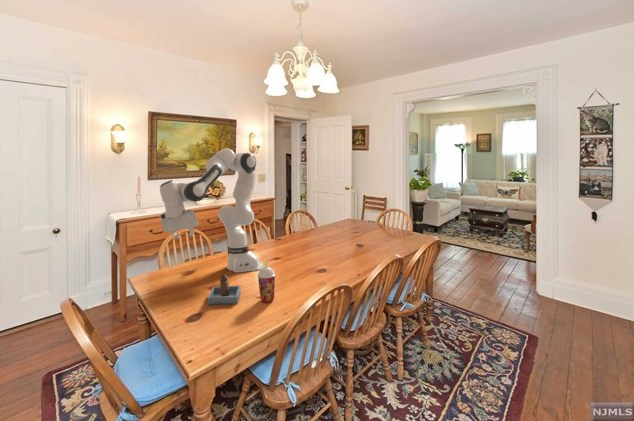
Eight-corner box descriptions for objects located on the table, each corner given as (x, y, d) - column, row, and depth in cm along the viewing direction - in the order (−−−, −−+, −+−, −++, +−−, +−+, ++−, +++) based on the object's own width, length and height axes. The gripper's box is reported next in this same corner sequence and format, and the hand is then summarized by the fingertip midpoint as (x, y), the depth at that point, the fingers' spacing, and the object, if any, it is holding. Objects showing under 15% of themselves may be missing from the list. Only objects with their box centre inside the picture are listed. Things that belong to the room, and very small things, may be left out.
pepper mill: (229, 295, 158) (228, 272, 156) (228, 298, 154) (227, 275, 152) (221, 295, 158) (220, 272, 156) (220, 299, 154) (218, 275, 152)
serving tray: (240, 292, 163) (240, 285, 163) (237, 303, 151) (237, 296, 150) (213, 293, 162) (213, 286, 161) (208, 305, 149) (207, 298, 149)
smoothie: (276, 296, 159) (275, 258, 155) (275, 304, 150) (273, 264, 147) (260, 296, 158) (258, 259, 155) (257, 304, 150) (256, 265, 146)
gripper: (196, 207, 162) (204, 232, 164) (165, 213, 168) (173, 237, 171) (188, 210, 156) (197, 236, 158) (156, 216, 162) (164, 241, 165)
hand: (184, 237), depth 165 cm, fingers open, 8 cm apart
